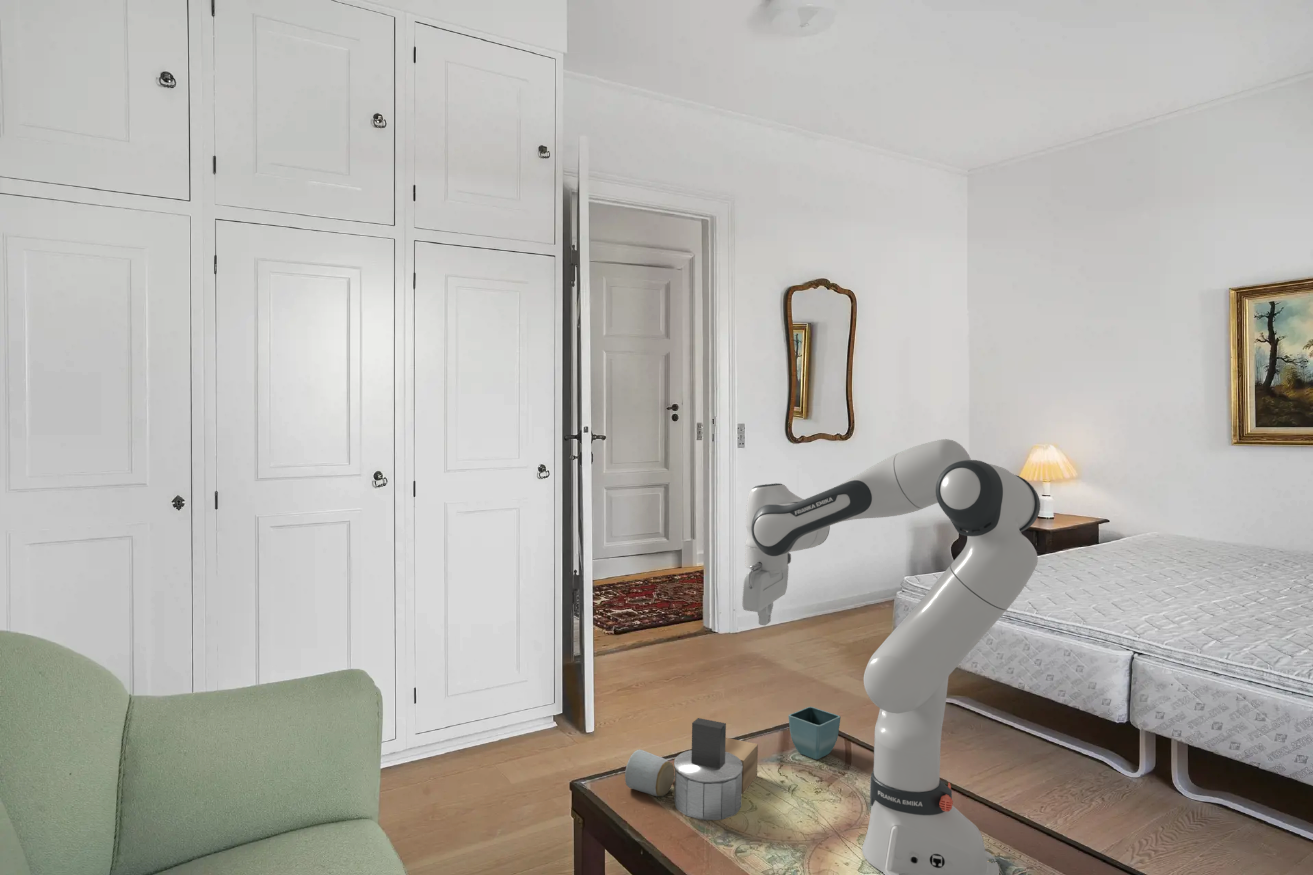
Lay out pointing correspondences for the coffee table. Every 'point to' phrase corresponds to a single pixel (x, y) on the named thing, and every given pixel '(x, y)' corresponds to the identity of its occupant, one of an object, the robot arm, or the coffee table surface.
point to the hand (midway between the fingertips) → (764, 623)
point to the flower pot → (814, 731)
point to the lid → (708, 755)
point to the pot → (707, 798)
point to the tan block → (744, 759)
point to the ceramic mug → (649, 773)
